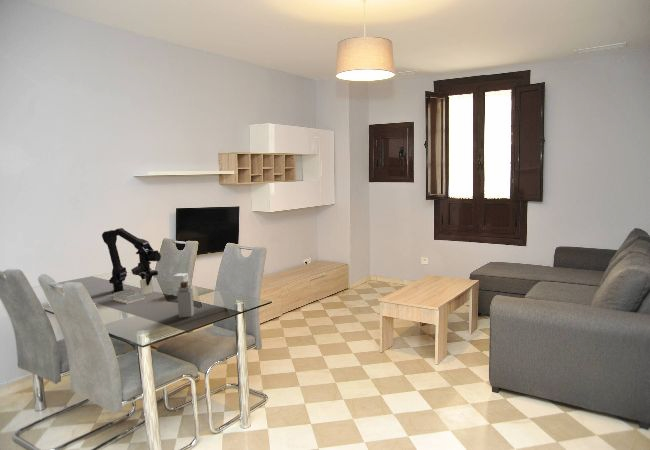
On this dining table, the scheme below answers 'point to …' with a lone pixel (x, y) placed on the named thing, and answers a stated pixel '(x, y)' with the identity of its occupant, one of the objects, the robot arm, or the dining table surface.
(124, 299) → the rack
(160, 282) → the dining table surface
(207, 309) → the dining table surface
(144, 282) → the cream rectangular tile
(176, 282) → the supplement box
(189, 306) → the perfume bottle
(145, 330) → the dining table surface
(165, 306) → the dining table surface
